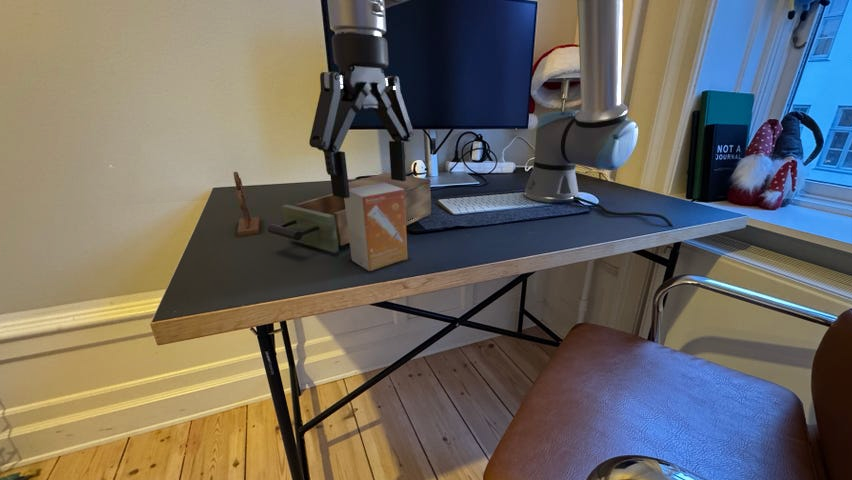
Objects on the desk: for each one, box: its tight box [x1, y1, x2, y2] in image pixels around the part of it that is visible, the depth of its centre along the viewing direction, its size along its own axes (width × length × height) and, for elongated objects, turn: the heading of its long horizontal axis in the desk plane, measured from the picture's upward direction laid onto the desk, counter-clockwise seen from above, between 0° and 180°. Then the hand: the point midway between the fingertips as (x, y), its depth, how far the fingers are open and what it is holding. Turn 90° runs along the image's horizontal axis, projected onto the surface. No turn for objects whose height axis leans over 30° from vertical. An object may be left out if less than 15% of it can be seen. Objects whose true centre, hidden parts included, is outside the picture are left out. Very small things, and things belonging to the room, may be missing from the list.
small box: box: [344, 182, 408, 272], centre depth 63 cm, size 8×6×13 cm
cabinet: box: [348, 172, 432, 227], centre depth 85 cm, size 17×14×9 cm
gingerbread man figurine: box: [233, 171, 261, 237], centre depth 77 cm, size 9×4×12 cm, turn 26°
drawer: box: [267, 193, 350, 254], centre depth 71 cm, size 21×12×7 cm, turn 151°
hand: (372, 187), depth 60 cm, fingers open, 13 cm apart
